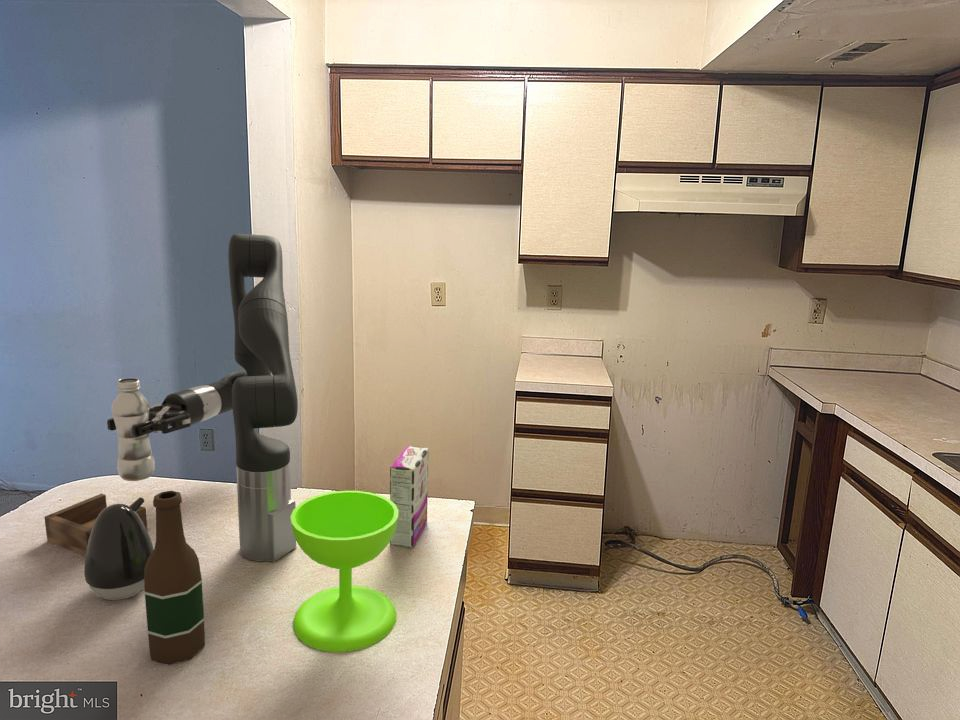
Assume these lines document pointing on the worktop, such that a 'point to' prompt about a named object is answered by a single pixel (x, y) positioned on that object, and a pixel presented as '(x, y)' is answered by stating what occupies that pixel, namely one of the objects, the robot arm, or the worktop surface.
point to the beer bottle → (173, 588)
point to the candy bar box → (409, 494)
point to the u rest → (78, 523)
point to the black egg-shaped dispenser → (117, 552)
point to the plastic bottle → (131, 450)
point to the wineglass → (344, 568)
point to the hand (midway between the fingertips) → (121, 428)
